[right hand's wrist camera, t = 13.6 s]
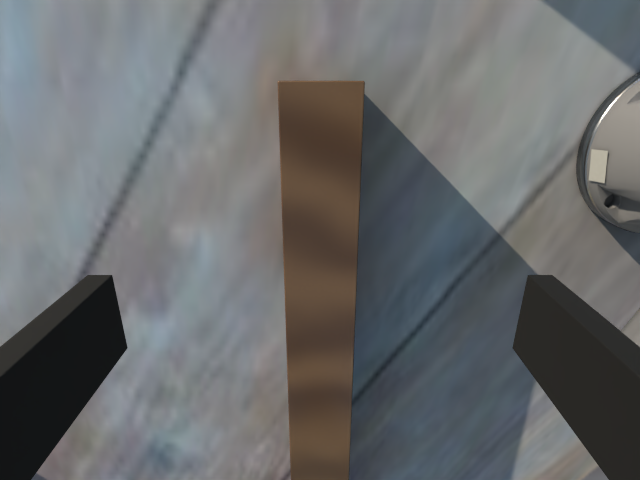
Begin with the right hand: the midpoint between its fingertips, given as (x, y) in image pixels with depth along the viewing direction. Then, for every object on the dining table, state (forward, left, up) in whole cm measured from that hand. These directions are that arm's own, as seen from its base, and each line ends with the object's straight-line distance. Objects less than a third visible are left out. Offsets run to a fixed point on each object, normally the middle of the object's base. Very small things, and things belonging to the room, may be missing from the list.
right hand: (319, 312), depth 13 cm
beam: (-3, +28, -26) cm, 38 cm away
